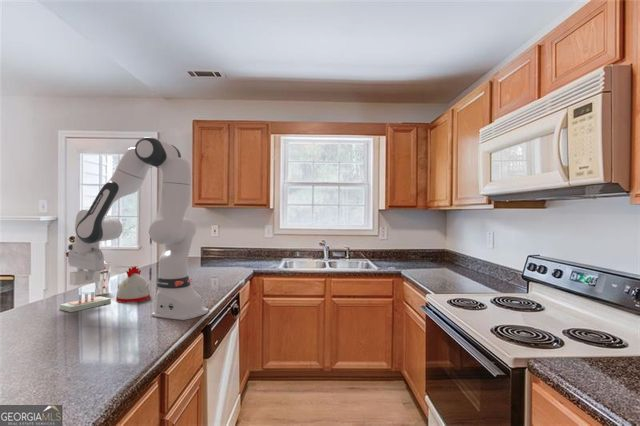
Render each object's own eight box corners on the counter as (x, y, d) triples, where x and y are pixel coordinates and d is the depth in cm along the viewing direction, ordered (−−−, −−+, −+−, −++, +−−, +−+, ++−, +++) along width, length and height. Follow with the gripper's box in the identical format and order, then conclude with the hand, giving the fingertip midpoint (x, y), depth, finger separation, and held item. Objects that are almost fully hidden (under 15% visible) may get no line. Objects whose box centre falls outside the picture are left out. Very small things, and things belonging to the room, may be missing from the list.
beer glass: (113, 292, 167) (114, 262, 167) (100, 295, 161) (100, 264, 161) (103, 291, 170) (103, 261, 169) (89, 294, 163) (90, 263, 163)
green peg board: (110, 303, 149) (110, 290, 149) (70, 312, 135) (70, 298, 135) (99, 300, 153) (100, 288, 153) (59, 309, 138) (59, 296, 138)
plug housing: (110, 279, 151) (110, 268, 151) (75, 285, 138) (75, 273, 138) (104, 278, 153) (105, 267, 153) (69, 284, 140) (70, 272, 140)
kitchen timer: (108, 301, 152) (109, 268, 152) (131, 294, 166) (132, 263, 166) (134, 303, 149) (135, 270, 149) (156, 296, 163) (157, 265, 163)
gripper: (109, 248, 142) (107, 281, 142) (81, 244, 151) (80, 275, 151) (93, 249, 136) (92, 283, 136) (65, 245, 145) (64, 277, 145)
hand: (85, 279), depth 144 cm, fingers closed on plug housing, 4 cm apart
